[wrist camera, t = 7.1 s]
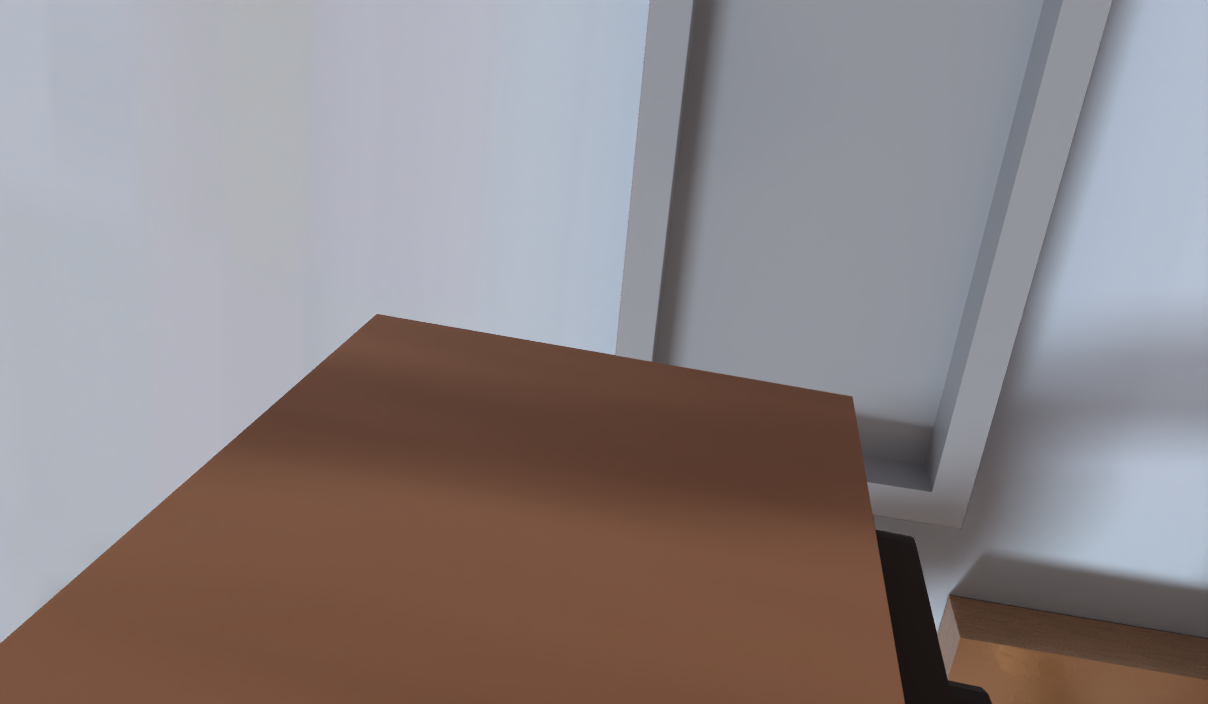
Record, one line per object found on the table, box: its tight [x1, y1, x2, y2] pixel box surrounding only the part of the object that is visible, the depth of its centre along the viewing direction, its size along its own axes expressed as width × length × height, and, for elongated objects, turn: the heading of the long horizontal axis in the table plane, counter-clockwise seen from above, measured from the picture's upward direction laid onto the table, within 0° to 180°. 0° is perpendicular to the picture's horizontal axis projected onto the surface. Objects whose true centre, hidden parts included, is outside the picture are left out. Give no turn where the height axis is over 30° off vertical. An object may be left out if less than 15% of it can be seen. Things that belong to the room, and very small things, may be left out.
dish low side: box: [615, 0, 1112, 529], centre depth 24 cm, size 18×10×2 cm, turn 175°
